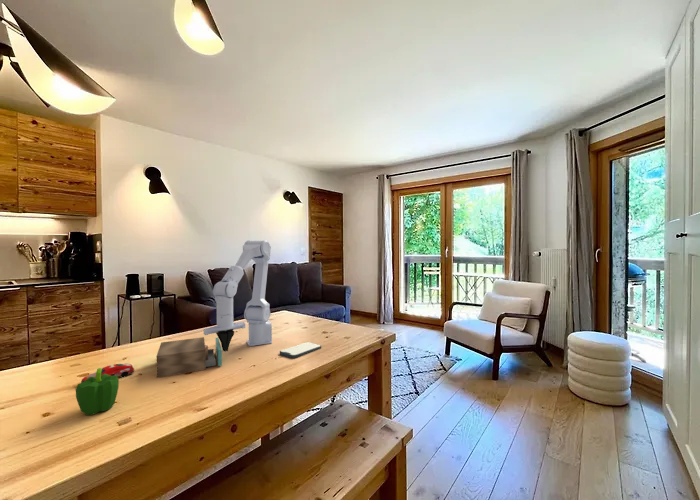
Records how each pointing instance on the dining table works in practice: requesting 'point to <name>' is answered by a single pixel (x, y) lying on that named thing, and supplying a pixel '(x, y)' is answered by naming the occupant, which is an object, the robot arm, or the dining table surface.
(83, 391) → the bell pepper
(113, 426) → the dining table surface
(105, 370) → the race car
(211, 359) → the drawer
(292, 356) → the phone case
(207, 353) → the brown round cylinder
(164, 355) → the spice box
